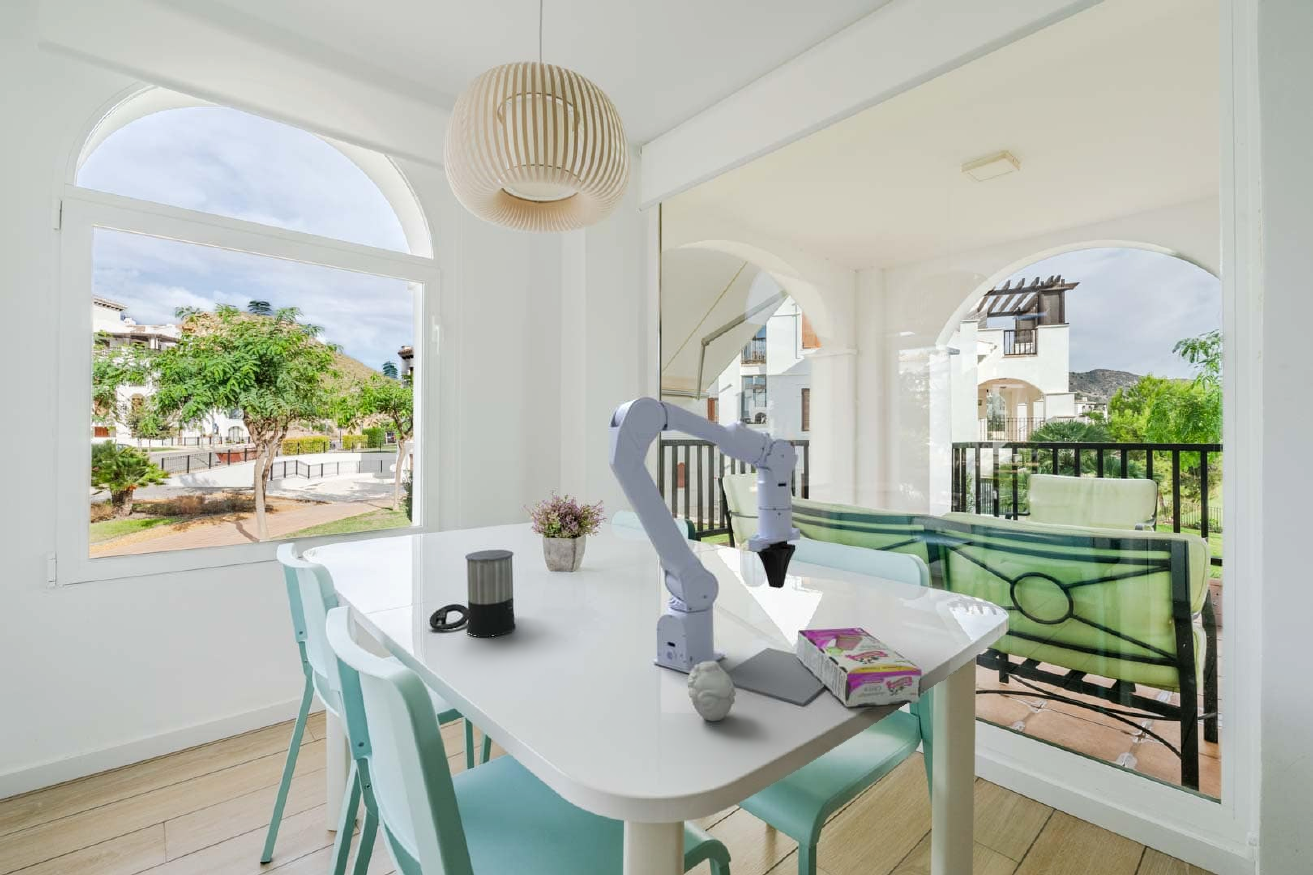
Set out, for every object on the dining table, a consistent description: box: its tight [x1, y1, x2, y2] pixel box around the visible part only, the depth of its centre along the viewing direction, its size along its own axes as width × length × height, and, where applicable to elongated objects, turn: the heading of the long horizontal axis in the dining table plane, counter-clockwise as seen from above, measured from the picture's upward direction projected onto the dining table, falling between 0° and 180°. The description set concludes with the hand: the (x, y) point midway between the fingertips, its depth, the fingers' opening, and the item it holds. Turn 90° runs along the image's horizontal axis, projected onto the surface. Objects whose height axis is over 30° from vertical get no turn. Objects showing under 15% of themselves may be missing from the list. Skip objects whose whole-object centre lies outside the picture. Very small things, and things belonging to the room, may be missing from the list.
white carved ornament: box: [687, 661, 737, 722], centre depth 77 cm, size 6×7×7 cm
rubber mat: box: [725, 647, 827, 707], centre depth 90 cm, size 16×14×1 cm
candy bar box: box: [796, 627, 922, 708], centre depth 87 cm, size 11×5×16 cm
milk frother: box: [428, 549, 517, 637], centre depth 116 cm, size 14×16×15 cm
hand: (776, 586), depth 102 cm, fingers closed
